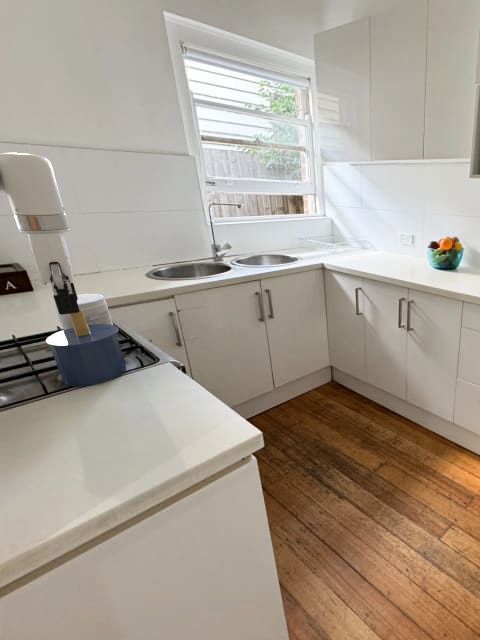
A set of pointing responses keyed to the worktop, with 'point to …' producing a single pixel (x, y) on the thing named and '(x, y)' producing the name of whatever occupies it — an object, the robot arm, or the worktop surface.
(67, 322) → the supplement tub
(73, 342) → the lid
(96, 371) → the tin
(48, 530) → the worktop surface
